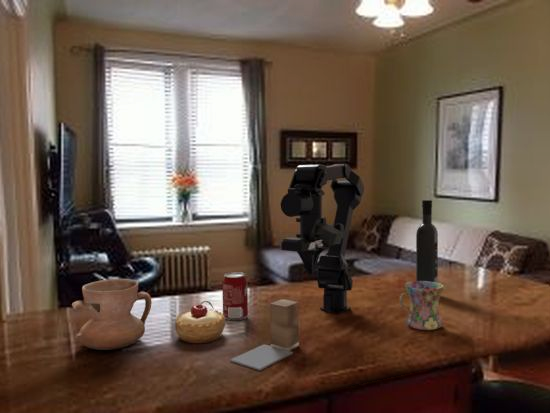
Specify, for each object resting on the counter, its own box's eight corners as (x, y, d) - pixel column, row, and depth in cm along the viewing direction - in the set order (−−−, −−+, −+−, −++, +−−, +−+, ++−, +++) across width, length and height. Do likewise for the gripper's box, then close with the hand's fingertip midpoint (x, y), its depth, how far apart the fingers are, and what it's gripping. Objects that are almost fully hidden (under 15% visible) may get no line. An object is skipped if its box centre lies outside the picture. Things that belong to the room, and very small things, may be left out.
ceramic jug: (80, 362, 99) (77, 296, 98) (68, 342, 111) (65, 283, 110) (163, 344, 108) (161, 284, 108) (144, 328, 121) (142, 273, 120)
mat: (264, 345, 107) (264, 344, 106) (292, 353, 102) (292, 351, 102) (230, 361, 98) (230, 359, 98) (259, 370, 93) (259, 368, 93)
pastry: (182, 329, 120) (180, 294, 119) (228, 328, 119) (227, 294, 119) (170, 346, 108) (168, 308, 107) (221, 346, 107) (220, 307, 107)
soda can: (244, 322, 124) (243, 277, 123) (219, 321, 125) (218, 276, 125) (250, 315, 131) (249, 272, 130) (227, 314, 132) (226, 271, 131)
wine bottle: (438, 294, 149) (438, 200, 147) (433, 298, 144) (434, 201, 142) (420, 292, 152) (420, 199, 150) (415, 296, 147) (415, 200, 145)
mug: (426, 319, 124) (426, 279, 123) (451, 329, 116) (452, 286, 115) (388, 325, 119) (388, 284, 119) (412, 336, 111) (412, 292, 110)
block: (283, 341, 109) (282, 299, 109) (298, 345, 106) (298, 302, 106) (270, 347, 106) (270, 303, 105) (286, 351, 103) (286, 306, 102)
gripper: (317, 218, 108) (318, 285, 109) (356, 212, 123) (356, 271, 124) (279, 216, 115) (279, 279, 116) (319, 211, 129) (320, 267, 130)
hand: (311, 274), depth 121 cm, fingers closed
